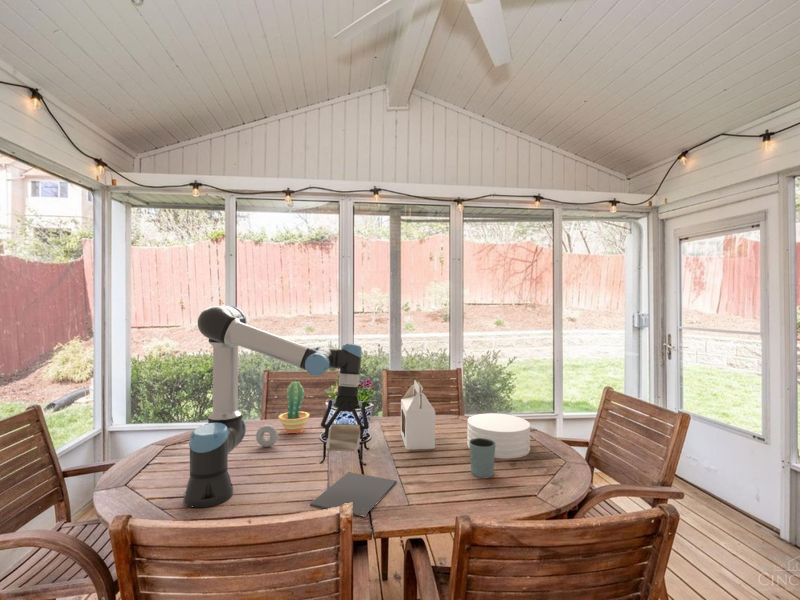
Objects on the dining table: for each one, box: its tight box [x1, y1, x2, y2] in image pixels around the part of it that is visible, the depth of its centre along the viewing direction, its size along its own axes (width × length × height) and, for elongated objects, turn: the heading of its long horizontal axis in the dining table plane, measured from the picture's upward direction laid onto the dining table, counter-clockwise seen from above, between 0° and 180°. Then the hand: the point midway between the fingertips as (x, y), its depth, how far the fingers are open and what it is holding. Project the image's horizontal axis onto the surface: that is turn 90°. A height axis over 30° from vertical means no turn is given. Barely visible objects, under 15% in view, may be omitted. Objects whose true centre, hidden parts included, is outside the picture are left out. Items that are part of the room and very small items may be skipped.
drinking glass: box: [469, 438, 496, 479], centre depth 156 cm, size 10×10×12 cm
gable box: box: [400, 379, 436, 451], centre depth 191 cm, size 22×13×28 cm, turn 6°
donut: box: [255, 424, 279, 448], centre depth 183 cm, size 10×4×10 cm, turn 89°
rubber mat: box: [309, 471, 397, 516], centre depth 139 cm, size 26×20×1 cm
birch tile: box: [326, 422, 360, 452], centre depth 147 cm, size 3×10×12 cm
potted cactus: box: [278, 380, 310, 434], centre depth 205 cm, size 15×15×25 cm
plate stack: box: [466, 413, 531, 459], centre depth 185 cm, size 28×28×12 cm
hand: (342, 448), depth 146 cm, fingers closed on birch tile, 10 cm apart
